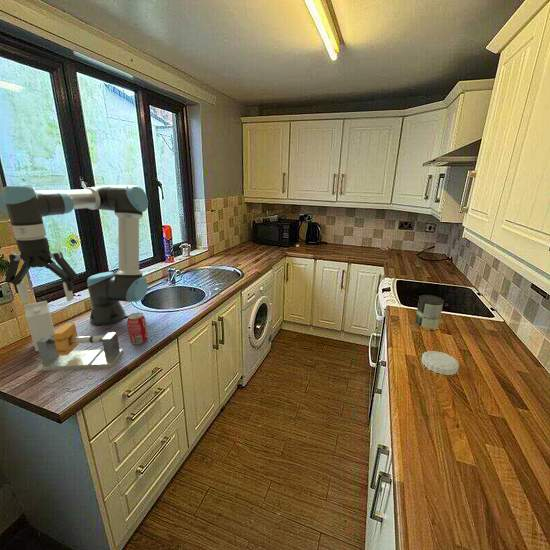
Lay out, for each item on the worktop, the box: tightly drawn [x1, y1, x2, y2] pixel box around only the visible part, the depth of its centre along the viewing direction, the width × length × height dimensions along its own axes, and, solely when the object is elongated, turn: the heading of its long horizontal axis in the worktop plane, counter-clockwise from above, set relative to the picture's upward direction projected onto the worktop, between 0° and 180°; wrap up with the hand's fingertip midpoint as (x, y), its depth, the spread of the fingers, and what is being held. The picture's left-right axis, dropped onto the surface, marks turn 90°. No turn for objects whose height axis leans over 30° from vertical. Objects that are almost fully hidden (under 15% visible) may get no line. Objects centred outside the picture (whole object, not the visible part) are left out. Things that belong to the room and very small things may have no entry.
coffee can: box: [414, 294, 445, 329], centre depth 135 cm, size 10×10×14 cm
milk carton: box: [23, 300, 56, 352], centre depth 115 cm, size 7×7×19 cm
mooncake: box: [420, 350, 460, 376], centre depth 105 cm, size 12×12×4 cm
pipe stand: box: [37, 331, 124, 372], centre depth 106 cm, size 25×10×10 cm, turn 96°
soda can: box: [126, 312, 149, 345], centre depth 119 cm, size 7×7×12 cm
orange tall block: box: [53, 322, 80, 356], centre depth 104 cm, size 3×8×9 cm, turn 6°
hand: (48, 300), depth 95 cm, fingers open, 13 cm apart
